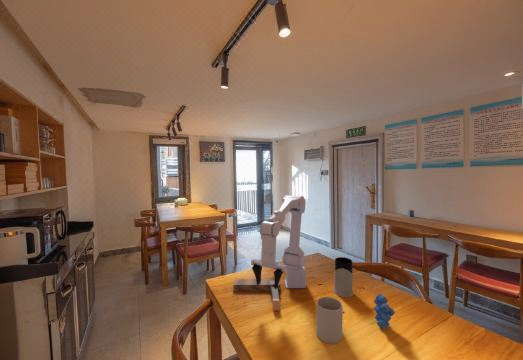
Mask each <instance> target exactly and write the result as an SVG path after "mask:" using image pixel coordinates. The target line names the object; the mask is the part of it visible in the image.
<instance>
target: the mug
mask: <svg viewBox="0 0 523 360" xmlns="http://www.w3.org/2000/svg"><path fill="white" fill-rule="evenodd" d="M343 309H344V308H343V303H342V302H341V301H340V300H339V299H337V298H334V297H331V296H330V297H329V296H324V297H320V298H318V299H317V301H316V328H315V329H316V330H315V331H316V336H317V337H318V339H319V340H321V341H322V342H325V343H327V344H333V345H334V344H338V343H340V342H341V341H342V339H343V313H342V311H344V310H343Z"/></svg>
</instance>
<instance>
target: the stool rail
mask: <svg viewBox="0 0 523 360" xmlns="http://www.w3.org/2000/svg"><path fill="white" fill-rule="evenodd" d="M274 282H275V279H274V278H272V277H271V278H261V283H260V284H259V285H257V282H256V278H254V279H253V278H244V279H243V278H239V279H238V278H237V279H236V278H235V279H233V285H232V286H233V287H232V288H233V289H232V290H233V292H271V285H274ZM280 291H281V280H280V281H279V284H278V292H280Z"/></svg>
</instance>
